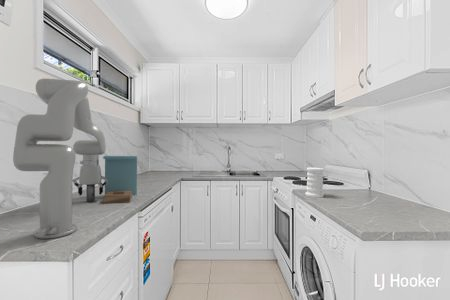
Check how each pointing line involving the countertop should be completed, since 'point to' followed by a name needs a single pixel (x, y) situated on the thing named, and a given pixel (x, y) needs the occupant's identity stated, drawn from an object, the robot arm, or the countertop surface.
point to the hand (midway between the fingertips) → (90, 194)
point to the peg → (90, 193)
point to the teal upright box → (121, 173)
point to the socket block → (117, 196)
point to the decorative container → (315, 182)
